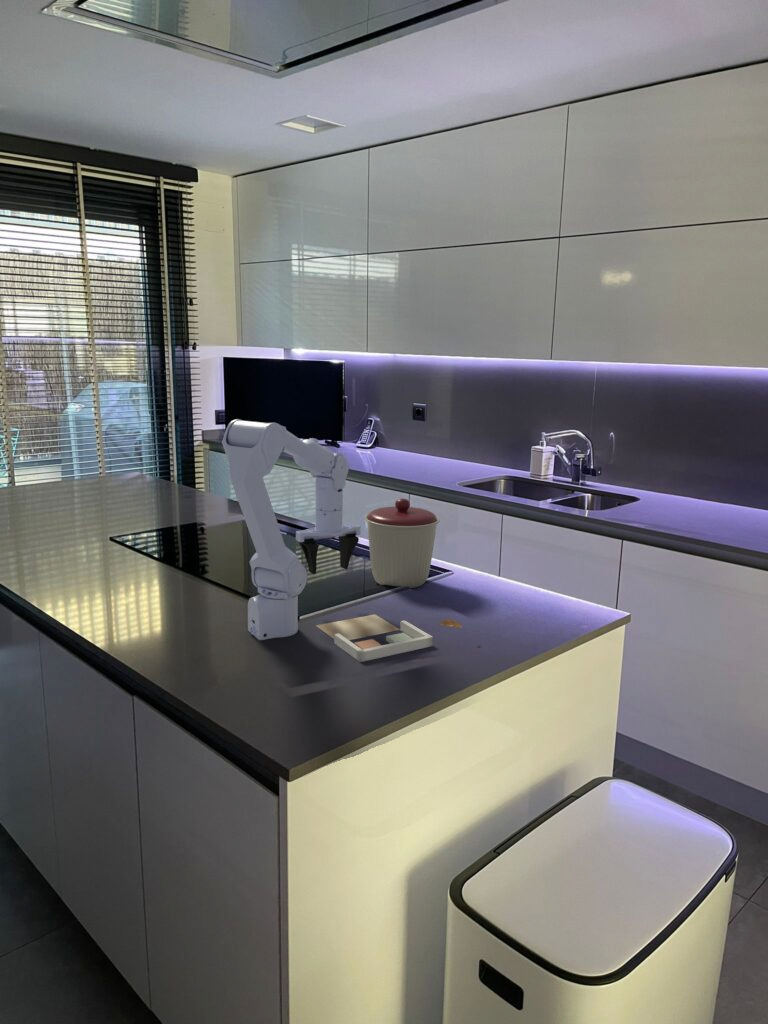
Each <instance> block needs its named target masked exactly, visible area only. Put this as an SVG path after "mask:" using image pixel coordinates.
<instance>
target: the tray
mask: <svg viewBox="0 0 768 1024" xmlns="http://www.w3.org/2000/svg"><path fill="white" fill-rule="evenodd" d="M399 622H400V625H399V626H400V627H399V629H400V630H399V631H401V632H402V633H405V634H407V635H408V636H410V637H412V638H413V639H410V640H405V641H401V642H396V643H391V644H390V643H387V644H381V645H382V646H377V647H372V648H368V649H363V650H362V649H361V648H359V647H358V646H356V645H355V644H354V643H353V642H352V640H348V639H346V638H345V637H343V636H342V635H341V634H339V633H338V634H334V639H333V641H334V645H335V646H337V647H338V648H340V649H342V650H343V651H344V652H346V653H347V654H348V655H349V656H351V657H352V658H354V659H355V660H357V661H358V662H359V663H362V662H366V661H371V660H376V659H380V658H385V657H389V656H394V655H398V654H403V653H407V652H408V653H409V652H412V651H415V650H416V651H417V650H420V649H425V648H429V647H430V648H431V647H434V644H433V643H434V636H433V635H431V634H429V633H427V632H425V631H423V630H422V629H420V628H418V627H417V626H415V625H413V624H412V623H410V622H408V621H406V620H405V619H404V620H401V621H399Z"/></svg>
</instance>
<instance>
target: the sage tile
mask: <svg viewBox="0 0 768 1024" xmlns="http://www.w3.org/2000/svg"><path fill="white" fill-rule="evenodd" d="M410 639H414V638H413V637H411V636H409V635H408V634H406V633H405V632H400V633H396V634H390V635H386V636H385V641H386V642H387V643H388V644H391V643H396V642H401V641H405V640H410Z"/></svg>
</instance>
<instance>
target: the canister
mask: <svg viewBox="0 0 768 1024" xmlns="http://www.w3.org/2000/svg"><path fill="white" fill-rule="evenodd" d="M394 505H395V506H384V507H379V508H376V509H373V510H371V511H370V512H369V513H366V515H365V516H364V520H365V522H367V523H366V524H367V535H368V536H367V537H368V547H369V557H370V559H369V560H370V565H371V567H370V568H371V572H372V576H373V577H372V578H374V580H375V582H376V583H377V584H378V585H381V586H389V587H390V586H392V587H407V588H410V589H413V588H419V587H421V586H422V585H424V584H425V583H426V581H427V579H428V577H429V575H430V570H431V564H432V559H433V551H434V548H435V547H434V545H435V540H436V539H435V538H436V532H437V525H438V524H439V523H440V522H441V521H440V517H439V516H438V515H436V514H434V512H432V511H430V510H427V509H425V508H420V507H413V506H411V503H410V501H409V499H406V498H398V499H397V500H396V501H395V503H394Z"/></svg>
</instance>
